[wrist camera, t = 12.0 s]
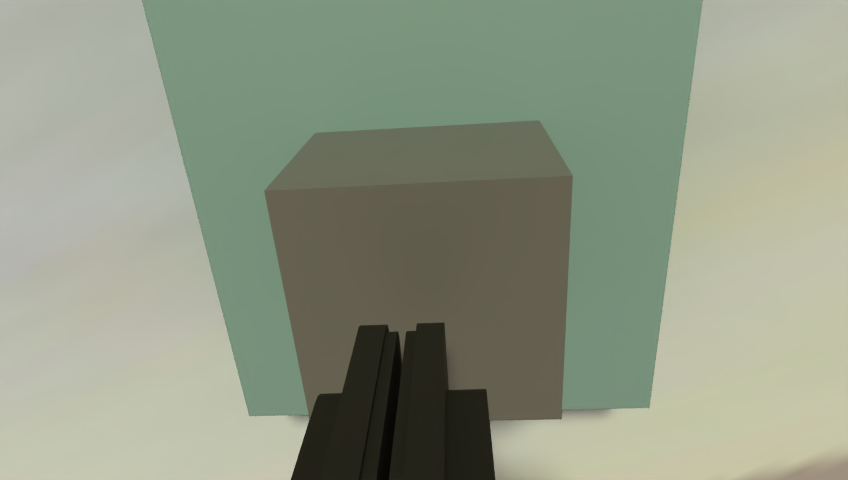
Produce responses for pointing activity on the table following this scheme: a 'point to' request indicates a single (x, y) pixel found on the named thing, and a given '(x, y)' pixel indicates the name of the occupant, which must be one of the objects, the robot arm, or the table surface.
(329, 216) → the plug
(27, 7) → the table surface
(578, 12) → the socket
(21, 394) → the table surface
